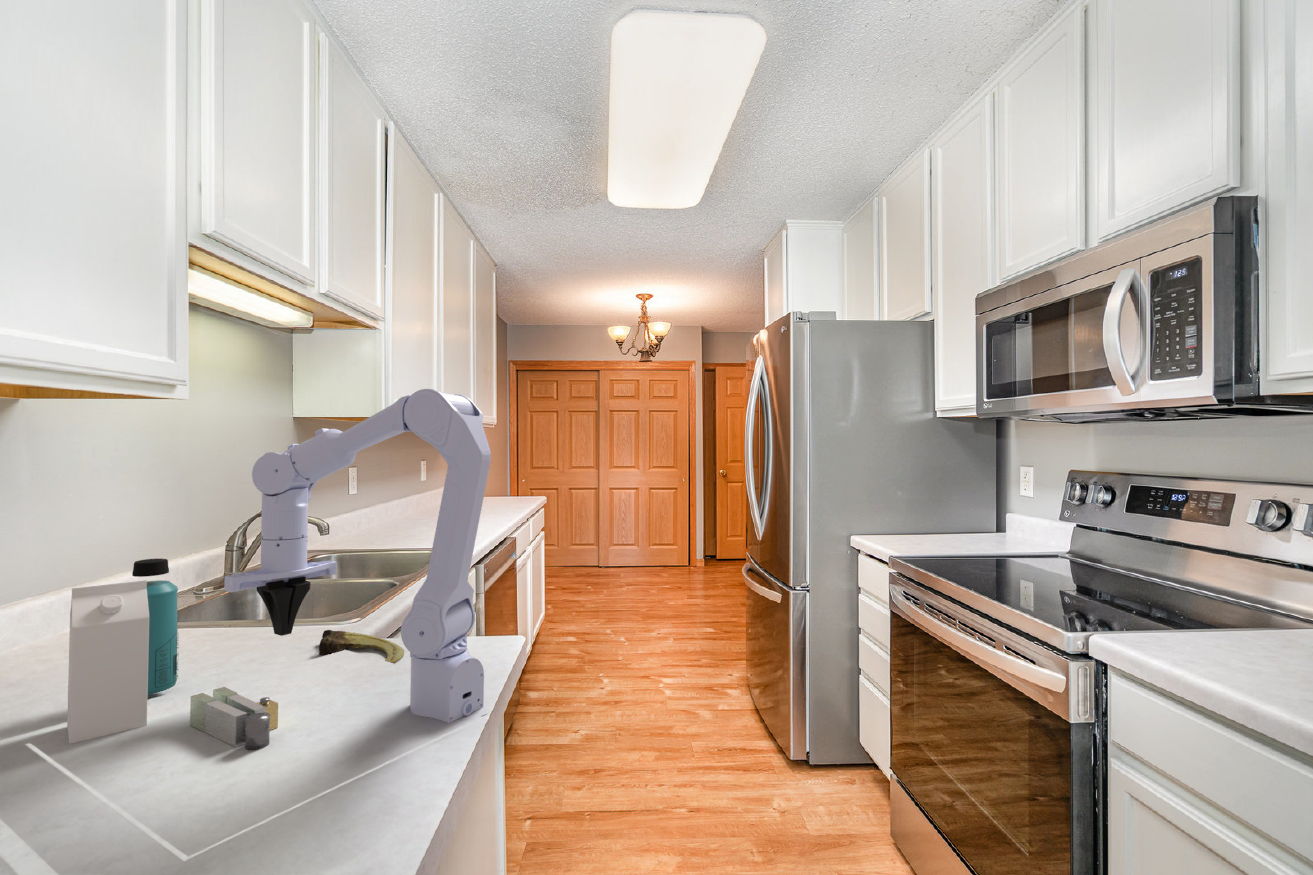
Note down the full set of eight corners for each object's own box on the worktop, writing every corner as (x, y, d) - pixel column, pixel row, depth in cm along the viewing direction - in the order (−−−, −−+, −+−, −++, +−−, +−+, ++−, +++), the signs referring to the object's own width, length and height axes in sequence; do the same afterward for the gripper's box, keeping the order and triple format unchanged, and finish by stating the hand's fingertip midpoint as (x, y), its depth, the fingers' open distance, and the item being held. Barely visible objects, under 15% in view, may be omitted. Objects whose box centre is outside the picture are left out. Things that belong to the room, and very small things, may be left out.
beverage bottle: (182, 697, 91) (185, 559, 91) (122, 711, 86) (126, 565, 86) (172, 686, 95) (175, 553, 96) (114, 699, 90) (118, 559, 91)
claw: (297, 655, 111) (298, 635, 111) (343, 639, 121) (344, 621, 121) (386, 671, 104) (387, 651, 104) (427, 653, 114) (428, 635, 114)
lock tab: (277, 727, 78) (278, 698, 78) (260, 733, 77) (261, 703, 77) (267, 722, 79) (268, 694, 80) (250, 728, 78) (251, 699, 78)
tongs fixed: (273, 746, 74) (274, 712, 74) (247, 756, 72) (248, 721, 72) (215, 719, 81) (216, 688, 81) (190, 727, 79) (190, 696, 79)
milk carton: (66, 736, 79) (70, 583, 79) (140, 719, 84) (143, 576, 84) (68, 756, 74) (73, 593, 74) (146, 737, 79) (150, 584, 79)
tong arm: (265, 736, 76) (266, 706, 76) (253, 740, 75) (254, 709, 75) (223, 714, 82) (224, 686, 82) (212, 718, 81) (212, 689, 81)
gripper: (318, 530, 98) (316, 617, 98) (213, 541, 85) (211, 642, 85) (345, 533, 94) (343, 624, 94) (240, 545, 82) (238, 651, 81)
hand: (282, 633), depth 89 cm, fingers closed
